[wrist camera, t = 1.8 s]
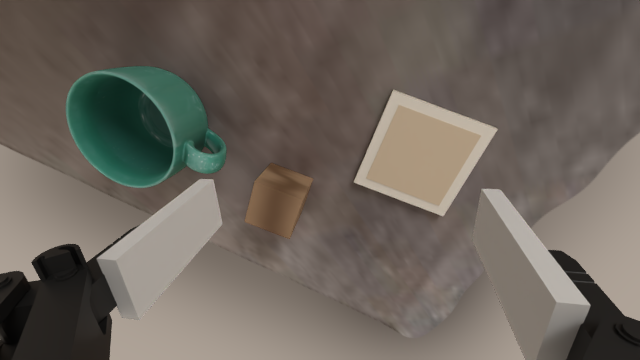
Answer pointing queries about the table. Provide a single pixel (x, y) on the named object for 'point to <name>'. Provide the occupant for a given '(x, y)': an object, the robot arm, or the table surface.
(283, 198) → the walnut cube
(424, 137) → the coaster
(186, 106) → the mug
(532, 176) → the table surface
